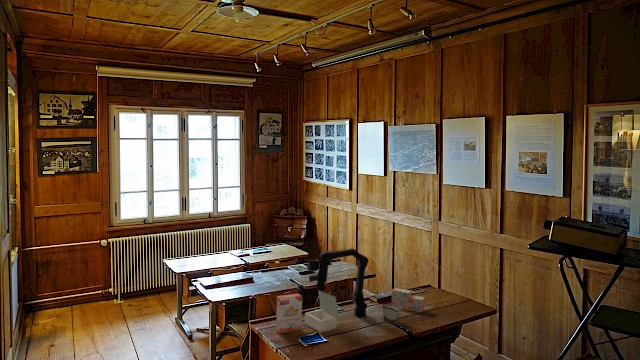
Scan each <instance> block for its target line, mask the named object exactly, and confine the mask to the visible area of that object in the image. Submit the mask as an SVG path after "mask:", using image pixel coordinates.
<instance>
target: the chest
mask: <svg viewBox="0 0 640 360" xmlns="http://www.w3.org/2000/svg"><path fill="white" fill-rule="evenodd" d="M337 318H338V317H336V316H334V315H332V314H330V313H328V312H326V311H324V310H322V309H321V308H320V309H315V310H312V311H308V312H305V313H304V325H305V326H307V327H309V328H311V329H312V330H314V331H316V332H318V333H320V334H322V333H324V332H325V333H326V332H328V331H333V330H336V329H337V326H338V325H337V324H338V323H337V321H338V320H337Z"/></svg>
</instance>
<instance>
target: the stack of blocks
mask: <svg viewBox="0 0 640 360" xmlns="http://www.w3.org/2000/svg"><path fill="white" fill-rule="evenodd" d="M425 301H426V299H425V297H424V296H418V295H413V291H412V290H409V289H404V288H403V289H402V288H397V287H395V288H392V290H391V305H396V306H398V307H399V308H402V309H408V310H412V311H416V312H415V313H417V312H422V311H423V310H424V311H425ZM402 309H401V310H402ZM412 311H411V312H412ZM422 313H423V312H422Z"/></svg>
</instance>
